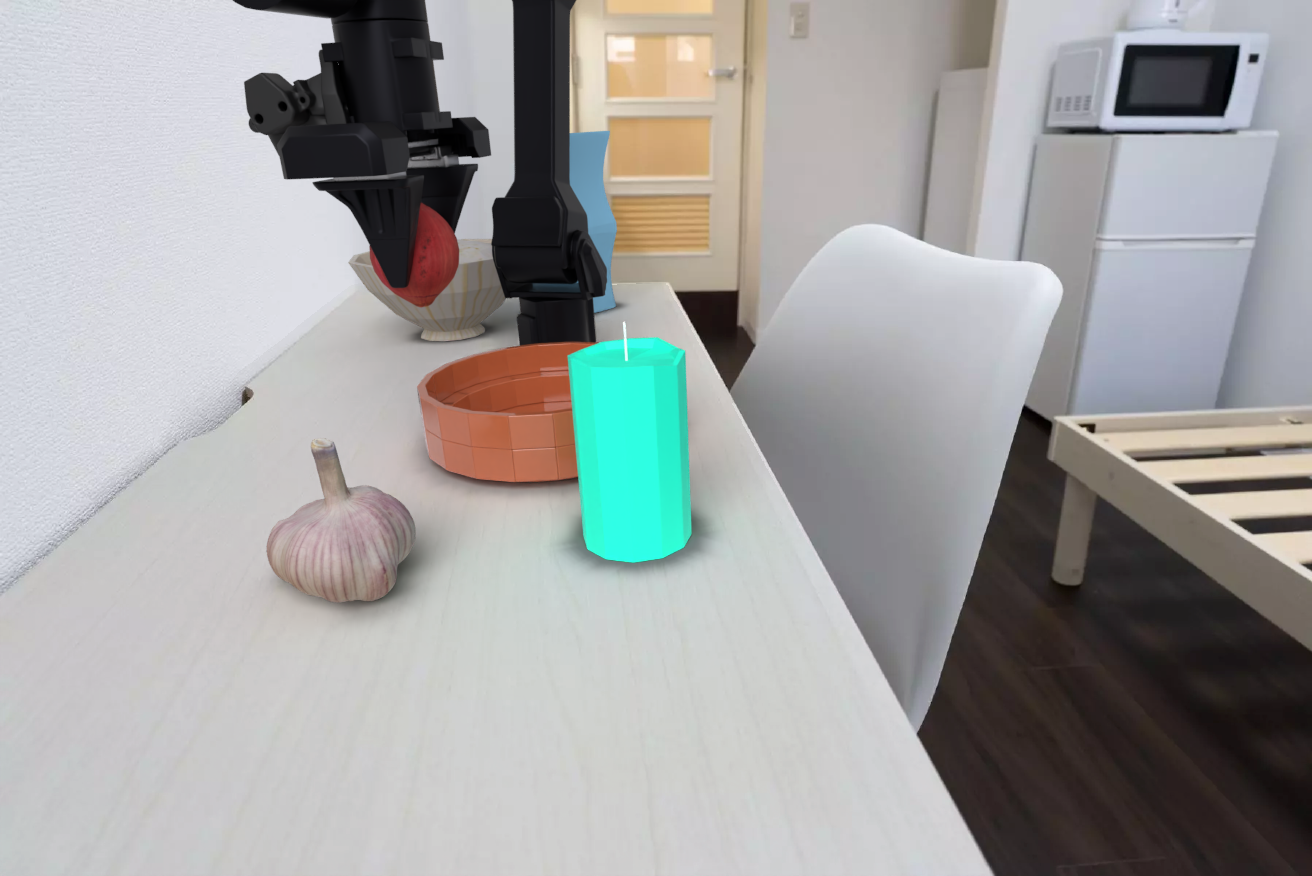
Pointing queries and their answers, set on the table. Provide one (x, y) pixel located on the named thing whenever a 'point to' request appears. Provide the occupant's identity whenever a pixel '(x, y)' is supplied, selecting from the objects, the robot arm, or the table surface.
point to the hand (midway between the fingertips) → (419, 278)
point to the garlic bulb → (342, 537)
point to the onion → (427, 260)
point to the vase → (594, 200)
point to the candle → (632, 447)
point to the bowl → (446, 294)
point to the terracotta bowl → (503, 414)
